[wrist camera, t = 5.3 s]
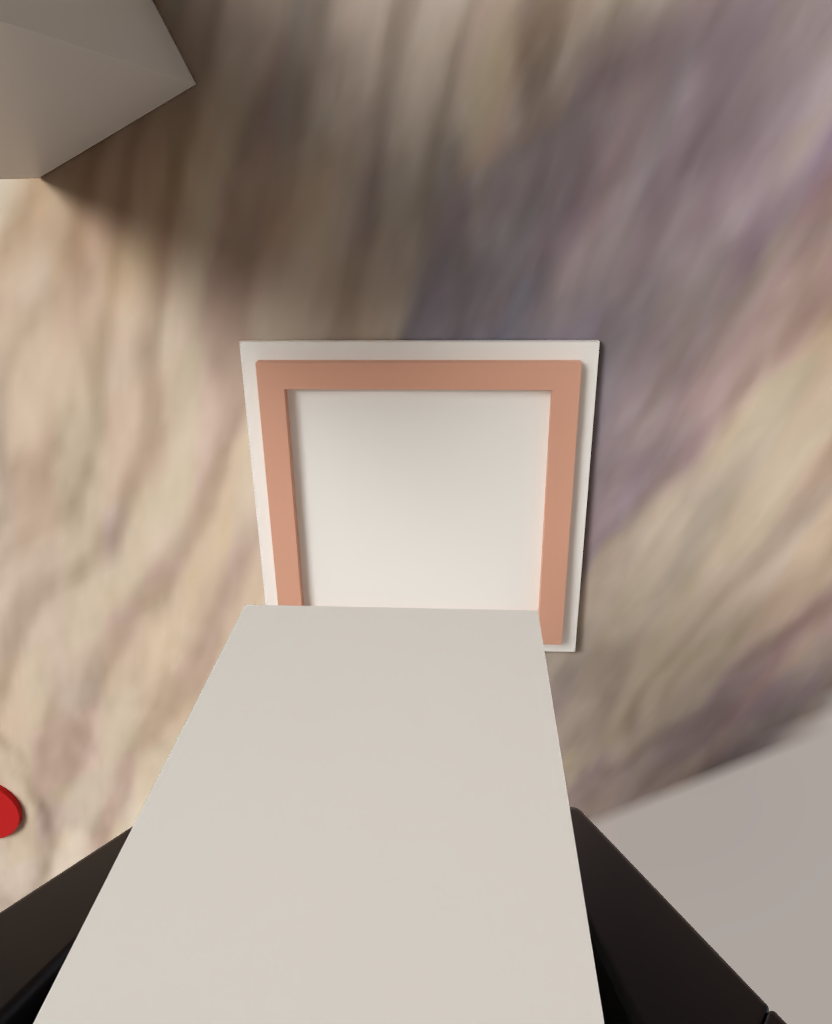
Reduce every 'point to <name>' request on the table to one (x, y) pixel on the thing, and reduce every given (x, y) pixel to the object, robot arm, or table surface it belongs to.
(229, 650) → the white orange-topped block
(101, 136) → the button box
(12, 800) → the pipe clamp
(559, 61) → the table surface
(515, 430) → the white flat square plate
